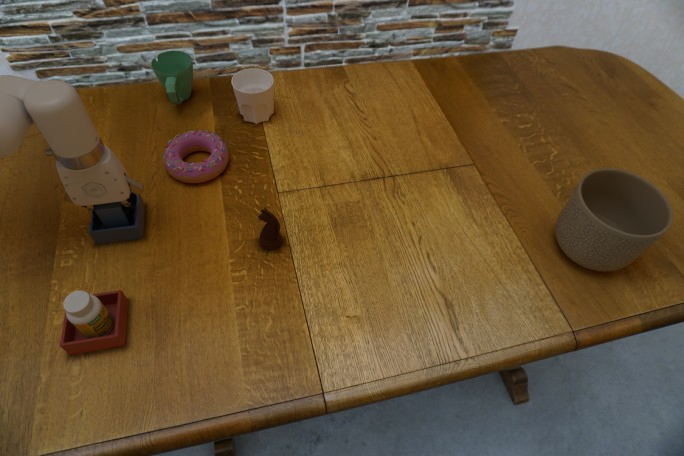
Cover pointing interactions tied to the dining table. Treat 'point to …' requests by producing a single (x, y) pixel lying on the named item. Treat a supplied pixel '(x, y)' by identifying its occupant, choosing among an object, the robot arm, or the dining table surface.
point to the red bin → (79, 343)
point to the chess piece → (270, 231)
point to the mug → (174, 74)
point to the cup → (254, 94)
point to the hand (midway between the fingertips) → (117, 215)
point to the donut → (192, 143)
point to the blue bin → (120, 233)
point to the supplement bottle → (88, 314)
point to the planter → (612, 219)
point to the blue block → (112, 215)
